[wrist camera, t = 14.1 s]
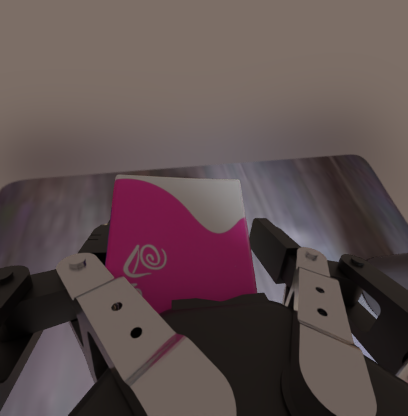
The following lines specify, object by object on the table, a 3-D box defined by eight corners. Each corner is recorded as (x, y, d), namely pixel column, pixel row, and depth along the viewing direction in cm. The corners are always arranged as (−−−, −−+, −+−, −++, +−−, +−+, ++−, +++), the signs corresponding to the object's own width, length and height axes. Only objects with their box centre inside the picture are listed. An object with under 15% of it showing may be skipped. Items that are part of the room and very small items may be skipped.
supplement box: (138, 236, 18) (114, 167, 8) (199, 235, 19) (247, 176, 9) (134, 304, 16) (92, 333, 6) (203, 298, 17) (271, 312, 7)
